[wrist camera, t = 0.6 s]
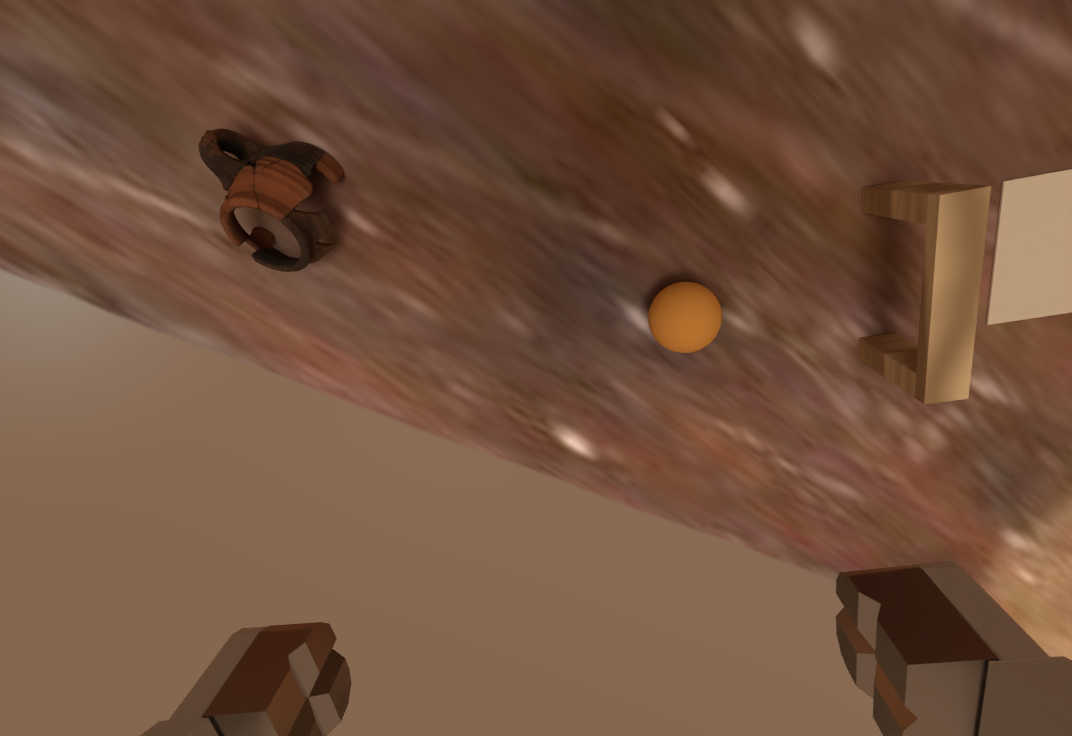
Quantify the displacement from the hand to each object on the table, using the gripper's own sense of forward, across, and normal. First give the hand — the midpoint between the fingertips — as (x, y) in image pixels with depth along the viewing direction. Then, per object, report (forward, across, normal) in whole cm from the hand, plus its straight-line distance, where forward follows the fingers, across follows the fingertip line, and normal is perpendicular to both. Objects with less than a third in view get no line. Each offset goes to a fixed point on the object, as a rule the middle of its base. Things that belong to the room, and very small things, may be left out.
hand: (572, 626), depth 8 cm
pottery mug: (+41, +23, -9) cm, 48 cm away
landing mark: (+40, -40, +7) cm, 58 cm away
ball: (+38, -8, +7) cm, 39 cm away
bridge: (+40, -25, +7) cm, 48 cm away
